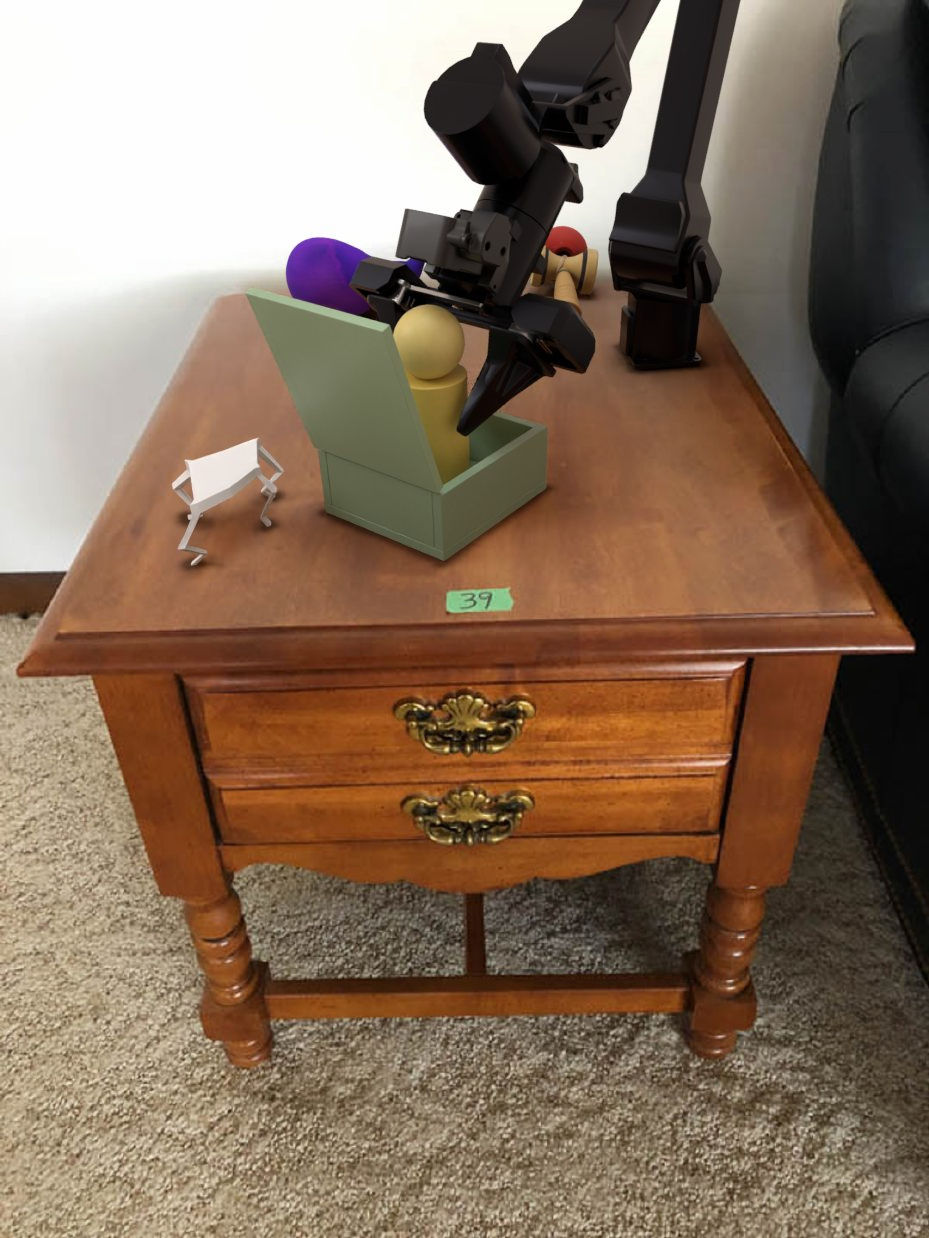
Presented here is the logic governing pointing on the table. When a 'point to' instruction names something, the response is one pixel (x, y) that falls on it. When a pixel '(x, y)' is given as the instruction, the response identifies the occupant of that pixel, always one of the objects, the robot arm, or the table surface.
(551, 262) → the kendama
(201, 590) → the table surface
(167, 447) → the table surface
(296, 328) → the chest lid
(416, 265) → the toy
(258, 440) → the white legged piece
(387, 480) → the chest
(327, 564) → the table surface
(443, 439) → the toy figure
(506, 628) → the table surface
